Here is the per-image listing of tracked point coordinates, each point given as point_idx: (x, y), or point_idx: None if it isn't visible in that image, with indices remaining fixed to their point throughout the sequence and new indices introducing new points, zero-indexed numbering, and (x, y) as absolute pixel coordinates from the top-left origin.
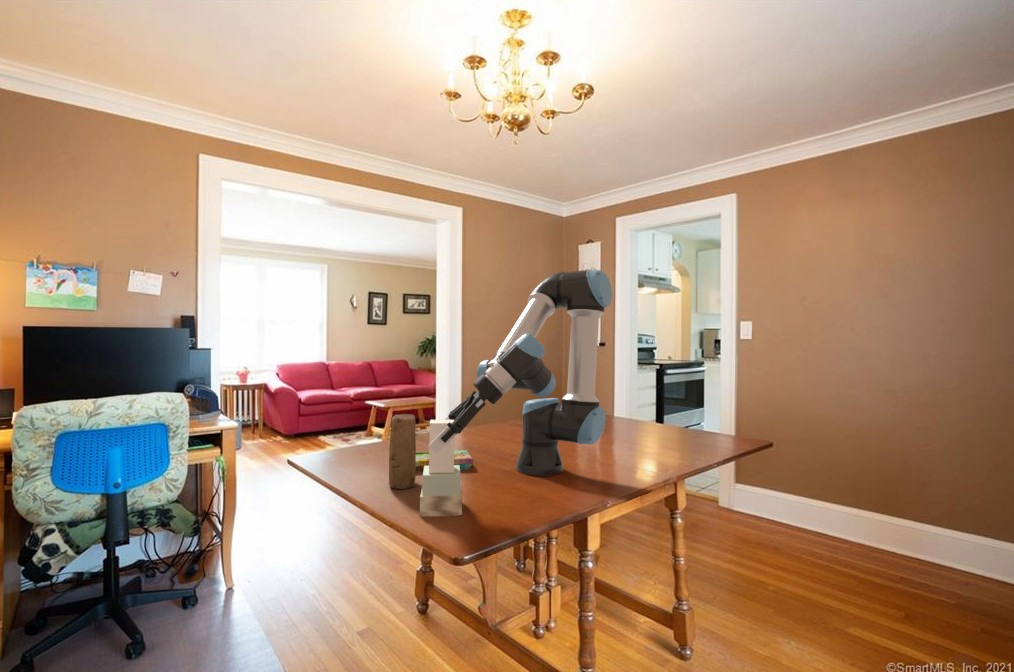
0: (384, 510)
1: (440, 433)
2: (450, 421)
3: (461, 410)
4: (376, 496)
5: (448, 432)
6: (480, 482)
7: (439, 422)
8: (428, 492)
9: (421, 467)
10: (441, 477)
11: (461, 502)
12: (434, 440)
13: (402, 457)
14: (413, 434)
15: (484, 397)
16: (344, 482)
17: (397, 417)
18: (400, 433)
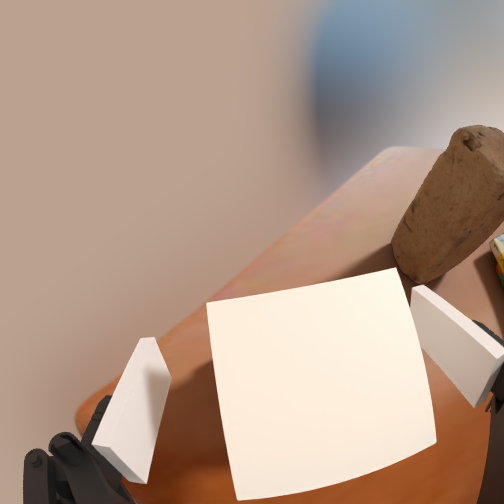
0: (264, 267)
1: (126, 395)
2: (339, 454)
3: (498, 487)
4: (344, 229)
5: (86, 438)
6: (468, 415)
7: (266, 375)
8: None
9: (497, 265)
10: None
11: None
12: (128, 364)
13: (423, 226)
14: (473, 213)
15: None
16: (395, 163)
17: (483, 134)
18: (451, 175)
